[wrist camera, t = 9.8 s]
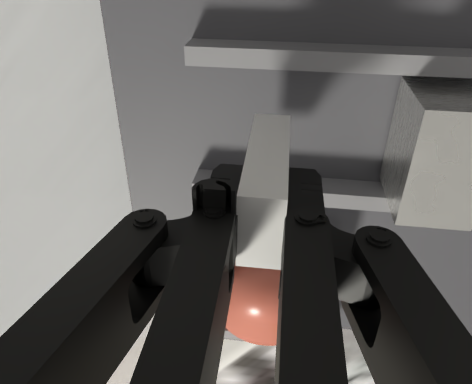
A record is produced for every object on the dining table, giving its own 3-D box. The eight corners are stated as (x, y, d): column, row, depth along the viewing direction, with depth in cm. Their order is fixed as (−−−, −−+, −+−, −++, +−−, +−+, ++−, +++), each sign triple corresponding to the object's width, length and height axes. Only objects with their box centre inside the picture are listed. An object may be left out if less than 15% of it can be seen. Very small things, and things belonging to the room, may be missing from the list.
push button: (226, 301, 27) (219, 340, 24) (226, 241, 24) (217, 277, 21) (305, 309, 26) (305, 350, 24) (313, 248, 23) (315, 287, 21)
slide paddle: (379, 176, 20) (394, 225, 17) (401, 76, 18) (425, 109, 14) (442, 181, 20) (471, 231, 17) (475, 79, 17) (516, 114, 14)
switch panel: (160, 276, 31) (129, 351, 25) (92, -266, 16) (-19, -372, 10) (502, 310, 28) (551, 402, 23) (813, -299, 13) (1178, -461, 8)
